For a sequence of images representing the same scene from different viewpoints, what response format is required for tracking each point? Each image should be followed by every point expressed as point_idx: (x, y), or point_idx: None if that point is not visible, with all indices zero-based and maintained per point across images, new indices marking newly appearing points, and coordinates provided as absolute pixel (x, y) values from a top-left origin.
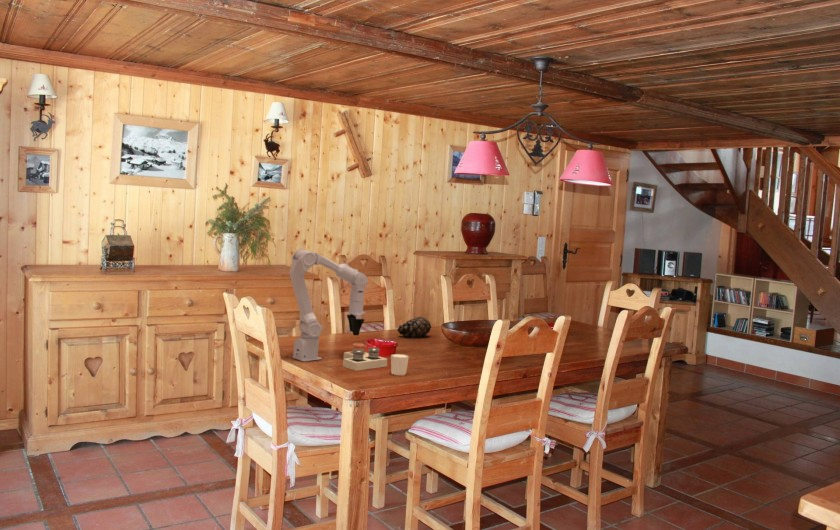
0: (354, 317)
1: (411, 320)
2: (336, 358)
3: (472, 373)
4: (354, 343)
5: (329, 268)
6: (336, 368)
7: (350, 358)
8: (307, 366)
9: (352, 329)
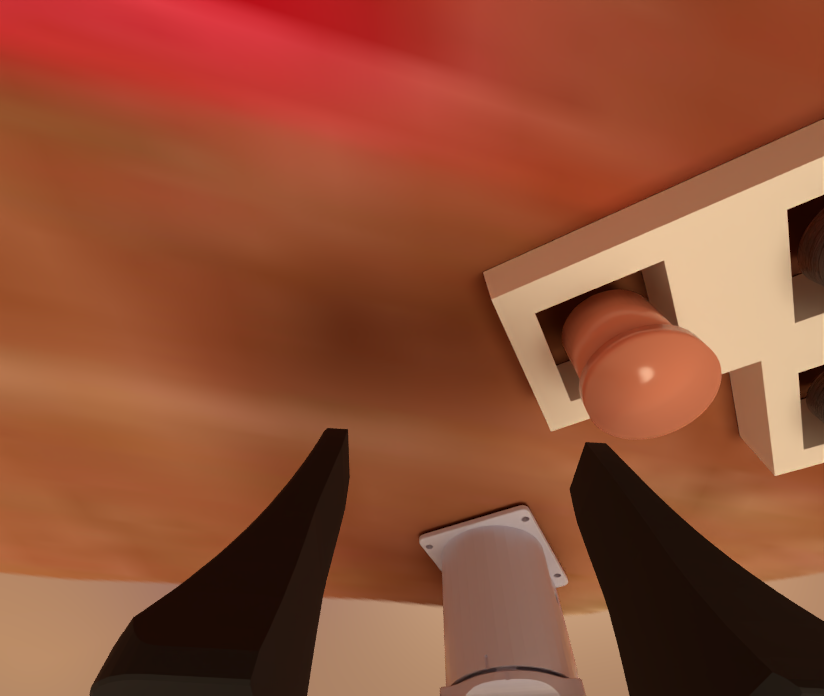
0: (288, 682)
1: None
2: (497, 427)
3: None
4: (610, 422)
5: None
6: (770, 474)
7: (785, 433)
8: None
9: (343, 484)
